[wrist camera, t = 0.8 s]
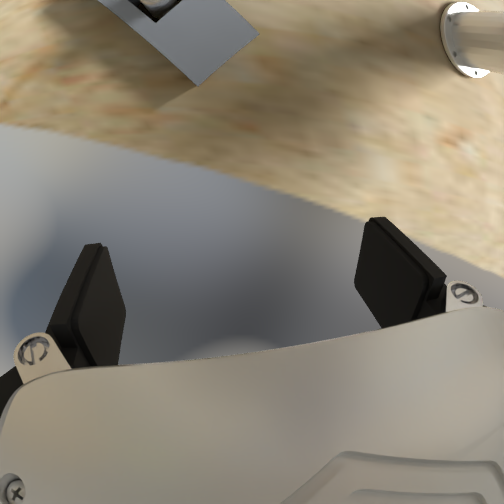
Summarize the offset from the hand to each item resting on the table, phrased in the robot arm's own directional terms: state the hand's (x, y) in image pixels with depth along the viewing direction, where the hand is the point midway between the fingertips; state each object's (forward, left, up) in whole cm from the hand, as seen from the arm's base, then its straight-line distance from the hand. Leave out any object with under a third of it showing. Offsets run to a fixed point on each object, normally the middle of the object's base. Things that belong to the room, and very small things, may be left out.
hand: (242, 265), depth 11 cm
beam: (-7, -15, -27) cm, 32 cm away
